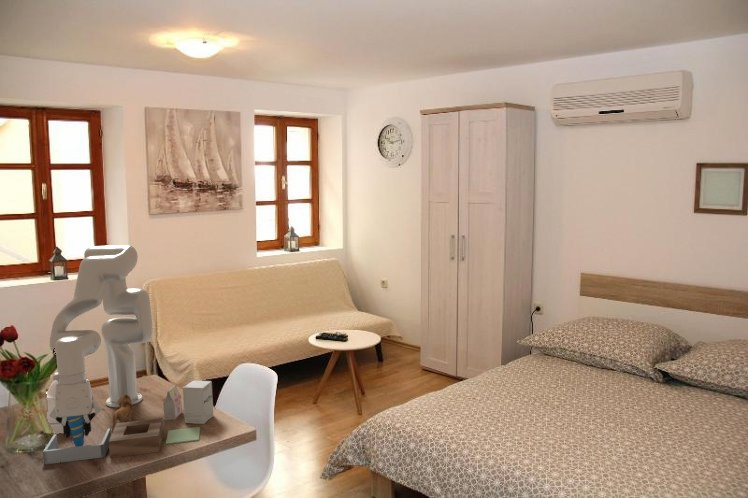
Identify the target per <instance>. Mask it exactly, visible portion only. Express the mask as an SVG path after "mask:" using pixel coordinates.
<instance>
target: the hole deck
mask: <svg viewBox="0 0 748 498" xmlns="http://www.w3.org/2000/svg"><path fill="white" fill-rule="evenodd" d="M164 433H165V432H164V421H163V417H162V418H161V417H160V418H153V419H144V420H143V419H142V420H134V421H132V422H129V421H126V422H125V421H124V423H120V422H116V426H115V427H114V431H113V433H112V432H111V437H110V440H109V448H108V450H109V458H115V457H125V456H134V455H142V454H149V453H150V454H151V453H157V452H158V453H159V452H160V449H161V446H162V442H163V437H164Z"/></svg>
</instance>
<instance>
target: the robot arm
mask: <svg viewBox="0 0 748 498" xmlns="http://www.w3.org/2000/svg"><path fill="white" fill-rule="evenodd" d="M83 253H84V254H83V255H84V258H83V259H82V260H81V262H80V264H79V267H78V273H77V277H76V283H75V289H74V293H73V298H72V299H71V300H70V301H69V302H68V303H67V304H65V306H64V307H62V309H61V310H60V311H59V312H58V313H57V315H56V317H55V318H54V320H53V323H52V327H51V331H50V337H49V348H50V351H51V353H53V349H54V348H55V349H54V351H55V352H54V353H53V354H54V355H55V358H56V365H57V367H56V368H57V372H58V375H56V376H55V375H53V376H52V381H54V380H57V381H58V383H57V384H56V389H55V408H54V409H53V411H52V412H51V414H50V415H49V416H50V417H51V418H53V419H56V421H58V422H59V423H61V425H62V426H63V431H64V433H63V435H64V436H65V439H69V438H70V437H71V436H72V434H71V432H70V430H71V429H70V427H69V425H68V419H67V417H73V416H82V415H83V417H84V419H85V423H84V432H85V435H84V437H88V436H89V435H90V433H91V432H92V425H91V424H92V423H91V421H92V420H93V419H94V418H95V417H96V416H97V415H98V414H99V413H101V412H102V407H101V406H100V405H99V404H98V403H97V402H95V400H94V396H93V395H94V394H93V390H92V385H91V383H90V380H89V378H87V372H86V371H87V370H86V362H85V357H86V356H90V355H93V354H94V353H95V352H97V351H98V350H99V349H100V346H101V344H102V343H101V342H102V340H103V343H104V348H105V354H106V364H107V365H106V367H107V377H108V386H109V388H108V389H109V397H108V398H107V399H105V400H106V401H105V404H106V406H107V407H110V408H120V406H119V404H118V403H117V401H118V400H119V399H120V397H121V395H124V394H127V395H128V396H129V397H130V398H131V402H132V406H133V405H136V404H139V403H140V402H141V401H142V400H143V395H142V394H141V393H139V392H138V384H137V383H138V382H137V369H136V357H135V352H134V350H133V348H132V347H131V346H130V345H129V344H134V345H135V344H145V343H148V342H150V341H151V340H152V337H153V334H154V333H153V331H154V330H153V329H154V328H153V327H154V326H153V316H152V308H151V307H152V306H151V300H150V299H151V298H150V296H149V293H148V291H147V290H146V289H144V288H129V287H128V286H127V279H126V277H128V276H129V275H130V273H131V272H132V271H133V270H134V269H135V267H136V266H137V263H138V252H137V250H136V248H135V247H134V246H132V245H129V244H127V245H126V244H125V245H123V244H122V245H95V246H91V247H88V248H87V249H85V251H84V252H83ZM101 304H102V306H103V310H104V313H105V314H106V315H108V316H134V317H114V318H110V319H107V320H105V321H104V322H103V323H102V325H101V329H100V330H101V336H102V338H101V336H100V333H98V332H97V331H95V330H92V329H83V330H81V329H80V330H77V329H76V330H75V329H74V330H73V329H72V330H67V329H68V326H69V324H70V323H71V322H72V321H73V320H75V319H76V318H77V317H79V316H81V315H83V314H85V313H87V312H89V311H91V310H94V309H95V308H97V307H99V306H100V305H101ZM55 353H56V354H55Z"/></svg>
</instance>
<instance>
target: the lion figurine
mask: <svg viewBox="0 0 748 498" xmlns="http://www.w3.org/2000/svg"><path fill="white" fill-rule="evenodd" d="M117 403H118V404H119V406H120V407H119V409H117V410H115V411H114V412H113V414H112V425H111V434H112V433H113V431H114V428H115V426H116V424H117V421H118V420H119V423H124V422H125V418H126V417H127V416H128V419H127V420H128V421H127V422H133V419H132V415H133V413H132V411H133V405H132V402H131V398H130V397H129V396H128V395H127V394H124V395H121V397H120V399H119V400H118V401H117Z"/></svg>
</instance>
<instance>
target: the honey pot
mask: <svg viewBox="0 0 748 498" xmlns="http://www.w3.org/2000/svg"><path fill="white" fill-rule="evenodd" d="M56 375H58V371H57V372H55V373H54V375H53V376H56ZM57 383H58V381H57V380H52V383H50V385H49V387H48V389H47V391H45V392H46V394H47V400H48V412H47V419H48V422H49V423H50V425H51V427H52V429H53V431H54V432H55V433H56V434H57V435H58V434H59V433H61V434H64V431H63V426H62V425H61V423H59V422H58V421H56V419H53V418H51V417H50V416H49V415H50V414H51V412H52V411H53V409H54V408H55V389H56V384H57Z"/></svg>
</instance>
